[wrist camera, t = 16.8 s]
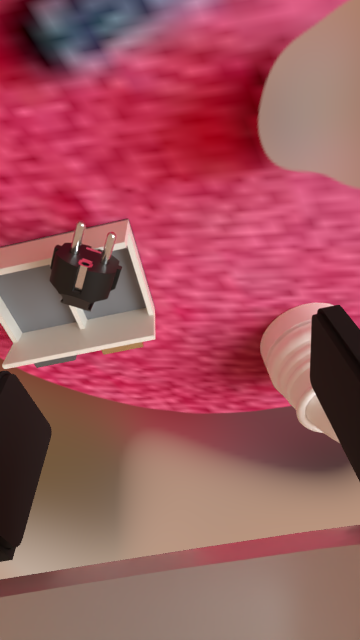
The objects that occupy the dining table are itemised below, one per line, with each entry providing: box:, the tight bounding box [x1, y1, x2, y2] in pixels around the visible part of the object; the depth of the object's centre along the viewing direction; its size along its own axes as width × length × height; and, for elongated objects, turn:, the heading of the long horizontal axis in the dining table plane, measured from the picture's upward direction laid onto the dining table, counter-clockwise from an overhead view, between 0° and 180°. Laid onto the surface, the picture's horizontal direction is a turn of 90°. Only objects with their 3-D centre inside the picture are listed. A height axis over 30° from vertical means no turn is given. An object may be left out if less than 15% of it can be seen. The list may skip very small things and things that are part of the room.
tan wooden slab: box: [102, 342, 143, 354], centre depth 43 cm, size 1×5×4 cm, turn 102°
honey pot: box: [260, 303, 340, 443], centre depth 41 cm, size 13×13×18 cm
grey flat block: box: [34, 355, 77, 368], centre depth 44 cm, size 1×5×4 cm, turn 101°
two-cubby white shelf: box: [0, 219, 155, 369], centre depth 38 cm, size 12×18×6 cm, turn 101°
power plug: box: [49, 221, 122, 312], centre depth 32 cm, size 6×8×12 cm
